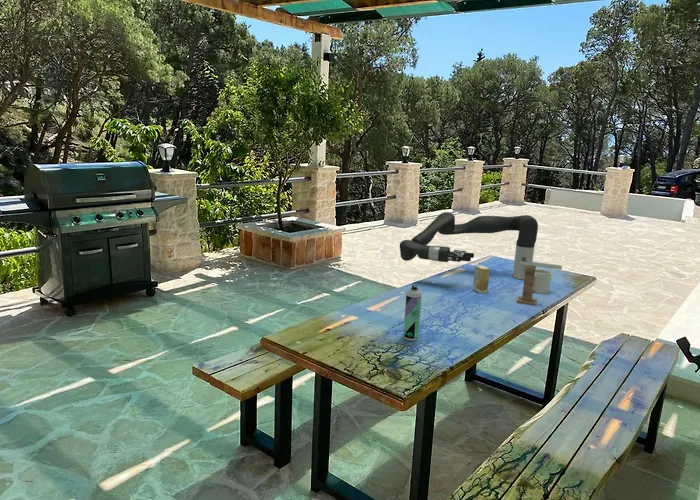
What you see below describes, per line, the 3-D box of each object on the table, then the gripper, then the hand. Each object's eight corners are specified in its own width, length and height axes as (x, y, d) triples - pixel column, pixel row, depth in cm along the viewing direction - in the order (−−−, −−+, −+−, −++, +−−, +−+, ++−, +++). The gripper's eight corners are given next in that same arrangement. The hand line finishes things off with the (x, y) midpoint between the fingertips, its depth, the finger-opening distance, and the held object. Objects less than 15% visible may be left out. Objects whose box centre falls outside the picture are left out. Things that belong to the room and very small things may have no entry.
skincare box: (472, 289, 263) (474, 265, 261) (479, 289, 265) (481, 264, 263) (480, 293, 258) (483, 268, 255) (488, 292, 260) (490, 268, 257)
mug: (546, 289, 271) (548, 269, 268) (551, 294, 261) (553, 274, 259) (524, 287, 272) (526, 268, 269) (528, 293, 262) (530, 273, 260)
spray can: (408, 333, 203) (412, 282, 199) (421, 337, 200) (425, 285, 196) (400, 337, 199) (404, 285, 195) (413, 341, 196) (416, 288, 191)
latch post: (518, 297, 254) (522, 262, 250) (536, 300, 251) (541, 265, 247) (516, 302, 247) (520, 266, 243) (534, 305, 244) (539, 268, 240)
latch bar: (519, 263, 248) (520, 256, 247) (561, 268, 241) (562, 262, 240) (519, 264, 246) (520, 257, 245) (561, 269, 239) (562, 262, 238)
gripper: (436, 249, 260) (470, 252, 254) (443, 243, 272) (475, 247, 266) (435, 264, 261) (469, 268, 255) (442, 258, 274) (474, 261, 268)
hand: (472, 257), depth 261 cm, fingers open, 8 cm apart
